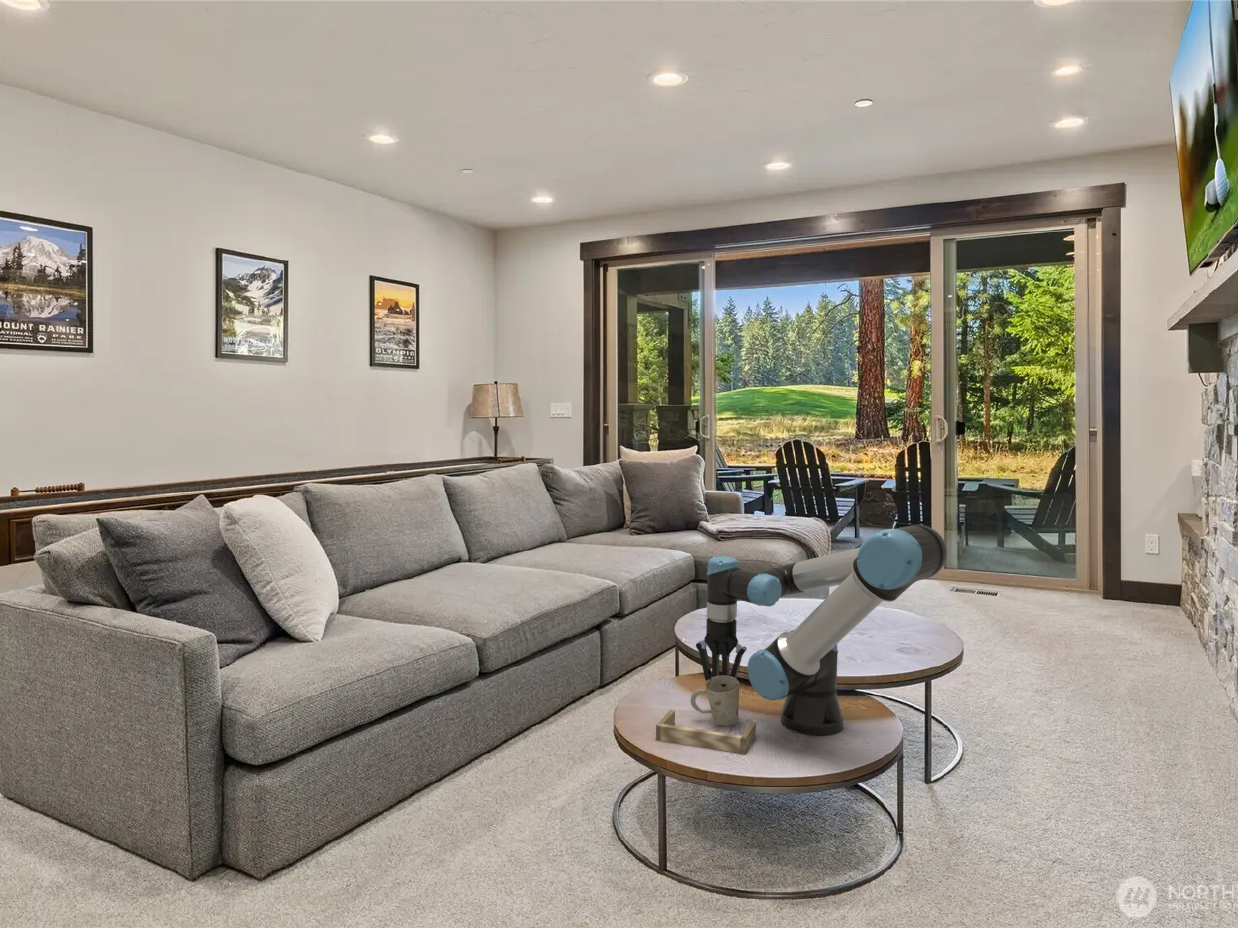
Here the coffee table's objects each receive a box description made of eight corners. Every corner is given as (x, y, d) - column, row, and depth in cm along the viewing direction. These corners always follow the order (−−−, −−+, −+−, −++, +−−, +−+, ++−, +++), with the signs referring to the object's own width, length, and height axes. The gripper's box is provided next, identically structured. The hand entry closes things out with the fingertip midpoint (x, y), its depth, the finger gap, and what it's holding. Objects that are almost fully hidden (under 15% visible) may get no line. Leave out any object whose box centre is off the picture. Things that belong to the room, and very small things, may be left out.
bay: (755, 736, 194) (755, 721, 194) (745, 754, 184) (745, 739, 184) (670, 723, 202) (670, 709, 202) (655, 739, 192) (656, 725, 191)
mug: (742, 728, 198) (738, 692, 195) (691, 729, 200) (687, 693, 198) (742, 709, 206) (739, 674, 203) (693, 710, 208) (689, 675, 206)
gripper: (750, 617, 205) (748, 707, 208) (701, 611, 210) (699, 699, 213) (743, 625, 199) (741, 718, 201) (692, 618, 204) (690, 709, 206)
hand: (719, 708), depth 207 cm, fingers closed
